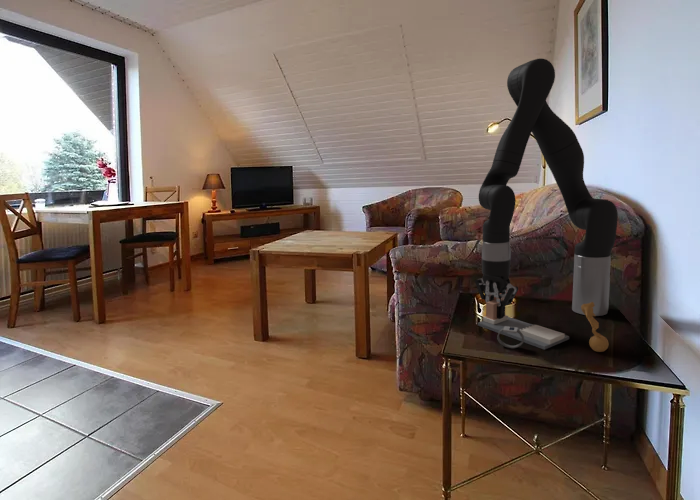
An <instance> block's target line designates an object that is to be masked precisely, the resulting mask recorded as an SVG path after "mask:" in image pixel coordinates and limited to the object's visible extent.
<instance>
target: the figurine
mask: <svg viewBox="0 0 700 500" xmlns="http://www.w3.org/2000/svg"><path fill="white" fill-rule="evenodd" d="M594 306H595V305H594V303H593V302H590V303H588V304H583V305H582V306H581V309H582V311H583V313H584V314H585V315H584V316H585V318H586V319H587V320H588V322H589V323H590V325H591V326H590V327H591V328H592V329H591V333H592V334H593V336H590V339H589V341H588V343H589V344H588V345H589V347H590V348H591V349H592V350H593V351H594V352H597V353H603V352H605V351H606V350H607V349H608V348H609V340H608V339H607V337H606V336H604V335H602V334H601V333H599V332H598V331H597V330H598V329H599V328H600V325H599V324H600V323H599V321H597V320H596V319H595V318H596V317H597V316H595V314H594V313H593V307H594ZM593 315H594V316H593Z"/></svg>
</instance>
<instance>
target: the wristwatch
mask: <svg viewBox="0 0 700 500" xmlns="http://www.w3.org/2000/svg"><path fill="white" fill-rule="evenodd" d="M502 331H503V332H508V333H517V332H518V333H519V334H520V336H521V338H522V341H520V343H518V344H516V345H515V344H514V345H510V344H507V343H505V342H504V341H503V340H501V338H500V335H501V334H500V333H501V332H502ZM496 339H497V342H498V343H499V344H500V345H501V346H503V347H505V348H508V349H517V348H519V347H521V346H522V345H523V344H524V343H525V342H524V336H523V334H522V333H521V331H520V330H518V328H517V327H508V326H504V328H502V329H501V330H500V331H499V333H498V334H497V336H496Z"/></svg>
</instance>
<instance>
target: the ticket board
mask: <svg viewBox="0 0 700 500" xmlns="http://www.w3.org/2000/svg"><path fill="white" fill-rule="evenodd" d="M477 326H479V327H481V328H484V329H486V330H487V329H488V330H490V331H493V332H495V333H499V331H500V330H501V329H502V328H504V326H508V327H517V328H518V330H520V331H521V333H522V334H523V336H524V342H523V343H525V344H528V345H530V346H533V347H535V348H539V349H542V350H544V351H545V350H547V349H550V348H552V347H555V346H557V345H559V344H561V343H563V342H566V341H568V340H570V336H569V335H567V334H566V333H563V332H560V331H557V330H554V329H551V328H549V327H548V328H547V327H544V326H541V325H538V324H534V323H533V324H532V323H528V322H525V321H522V320H519V319H517V318H513V317H509V316H508V320H506V321H503V322H500V323H497V324H494V325H493V324H491V323H488V322H485V321H483V320H482V321H479V322H477ZM500 335H503V336H506V337H509V338H512V339H514V340H517V341H520V342H522V338H521V336H520V334H519V333H518V332H517V333H508V332H503V331H502V332H501V333H500Z"/></svg>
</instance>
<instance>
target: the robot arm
mask: <svg viewBox="0 0 700 500" xmlns="http://www.w3.org/2000/svg"><path fill="white" fill-rule="evenodd" d="M555 79H556V70H555V67H554V65H553V63H552V62H550V61H549V60H548V59H546V58H535V59H532V60H529V61H528V62H525V63H523V64H521V65H518V66H516V67H514V68H513V69H512V70H511V71H510V73H508V76H507V81H506V87H507V91H508V92H509V95H510V97H511V98H512V100H513V102H514V103H515V105H516V109H515V113H514V114H513V116H512V119H511V120H510V121H509V124H508V125H507V127H506V129H505V130H504V132H503V134H502V136H501V137H500V140H499V142H498V144H497V147H496V151H495V153H494V158H493V160H492V165H491V167H490V169H489V171H488V172H487V174H486V176H485V178H484V180H483V182H482V184H481V186H480V187H479V191H478V202H479V204H480V206H481V207H482V208H483V209H485V210H488V211H490V212H489V219H487V220H485V221H484V222H483V225H482V246H481V273H482V274H483V275H482V278H481V277H480V278H478V279H475V280H474V283H475V286H476V288H477V292H478V294H479V297H480V299H481V300H484V301H485V303H486V302H489V301H492V300H495V299H496V300H497V318H498V319H501V318H503V317H504V316H505V315H506V306H508V305H511V304H512V303H513V302H514V299H515V297H516V296H517V293H518V291H519V287H518V286H514V285H513V284H511V280H510V274H511V253H512V252H511V243H510V242H511V239H510V237H511V230H510V229H511V227H510V226H511V223H512V220H513V216H514V212H515V208H516V201H517V200H516V195H515V192H514V190H513V188H511V187H510V186H508V182H509V181H510V180H511V179H513V178H515V177H516V176H517V175H518V173H519V172H520V168H521V165H522V161H523V159H524V155H525V152H526V147H527V145H528V142H529V140H530V137H531V134H532V135H533V137H534V140H535V141H536V143H537V145H538V147H539V149H540V152H541V155H542V157H543V158H544V161H545V162H546V164H547V166H548V168H549V170H550V173H552V176H553V179H554V181H555V182H556V185H557V187H558V189H559V191H560V193H561V196H562V200H563V201H564V204H565V208H566V210H567V214H568V216H569V218H570V221H571V223H573V225H574V226H575V227H576V228H577V229H580V230H584V231H585V234H584V240H583V241H581V242H577V243H576V244H575V245H574V257H573V280H572V283H573V284H572V303H571V310H572V311H573V312H574V313H577V314H580V315H584V316H586V315H585V314H584V313H583V311H582V309H581V306H582V305H583V304H588V303H590V302H593V303H594V305H595V306H594V307H593V313H594V314H595V316H596V317H599V316H600V317H601V316H604V315H607V314H608V311H609V303H610V301H609V300H610V289H611V287H610V285H611V282H610V281H611V279H610V277H611V273H610V272H611V258H612V256H611V255H612V249H613V248H614V246H615V243H616V236H617V229H618V220H619V219H618V218H619V214H618V209H617V206H616V205H615V203H614V202H612V201H611V200H608V199H602V198H594V197H593V196H592V195H591V193H590V192H589V190H588V187H587V185H586V183H585V180H584V169H585V168H584V167H585V155H584V151H583V149H582V146H581V144H580V142H579V140H578V137H577V135H576V134H575V131H573V129H572V128H571V127H570V126H569V125H568V124H567V123H566V122H565V121H564V120H563V119H561V117H559V116H558V115H557V114H556V113H555V112H554V111H553V110H552V108H551V107H550V106H549V103H548V102H547V99H548V97H549V94H550V92H551V90H552V89H553V87H554V86H553V85H554V83H555ZM593 316H594V315H593Z"/></svg>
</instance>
